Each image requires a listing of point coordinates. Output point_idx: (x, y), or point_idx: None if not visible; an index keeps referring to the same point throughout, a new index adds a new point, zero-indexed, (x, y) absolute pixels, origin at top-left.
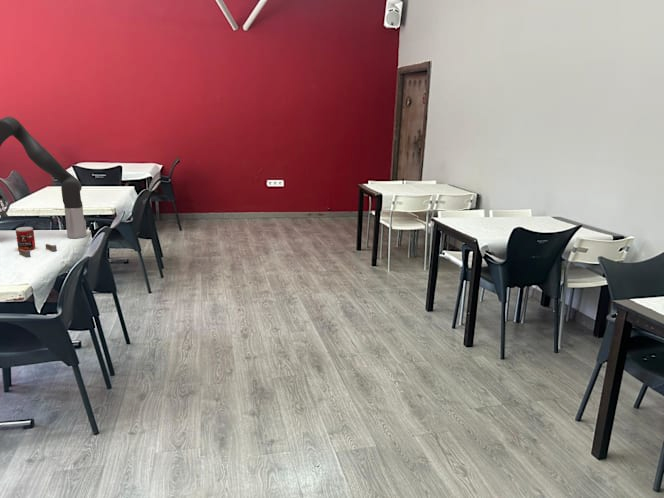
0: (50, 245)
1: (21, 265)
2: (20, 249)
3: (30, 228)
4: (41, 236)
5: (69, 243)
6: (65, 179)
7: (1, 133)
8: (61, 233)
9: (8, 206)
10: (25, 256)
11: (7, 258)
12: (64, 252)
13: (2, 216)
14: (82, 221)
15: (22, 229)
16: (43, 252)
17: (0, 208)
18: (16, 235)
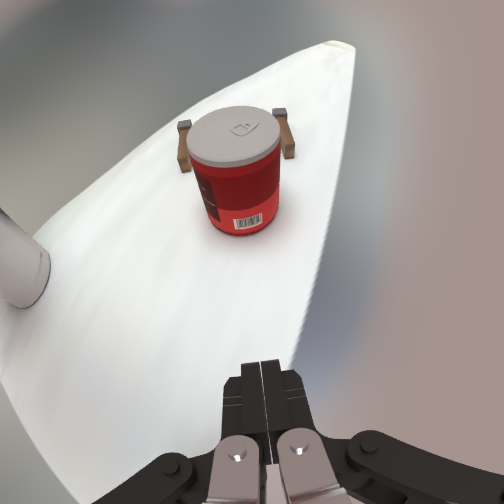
0: (183, 139)
1: (315, 89)
2: (289, 143)
3: (202, 131)
4: (90, 392)
5: (97, 198)
6: None
7: None
8: (26, 370)
9: (122, 500)
10: None
11: (337, 143)
12: (177, 120)
13: (297, 375)
14: None
15: (244, 132)
16: None
17: (290, 488)
18: (279, 159)
